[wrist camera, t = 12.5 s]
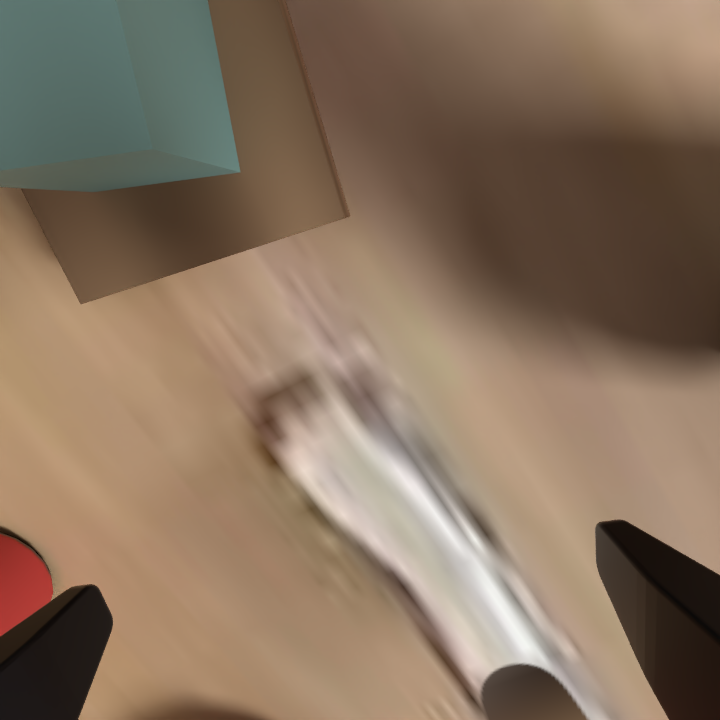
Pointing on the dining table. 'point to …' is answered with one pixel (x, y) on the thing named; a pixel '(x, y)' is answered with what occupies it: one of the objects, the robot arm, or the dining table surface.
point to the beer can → (21, 582)
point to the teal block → (110, 95)
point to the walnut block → (215, 193)
